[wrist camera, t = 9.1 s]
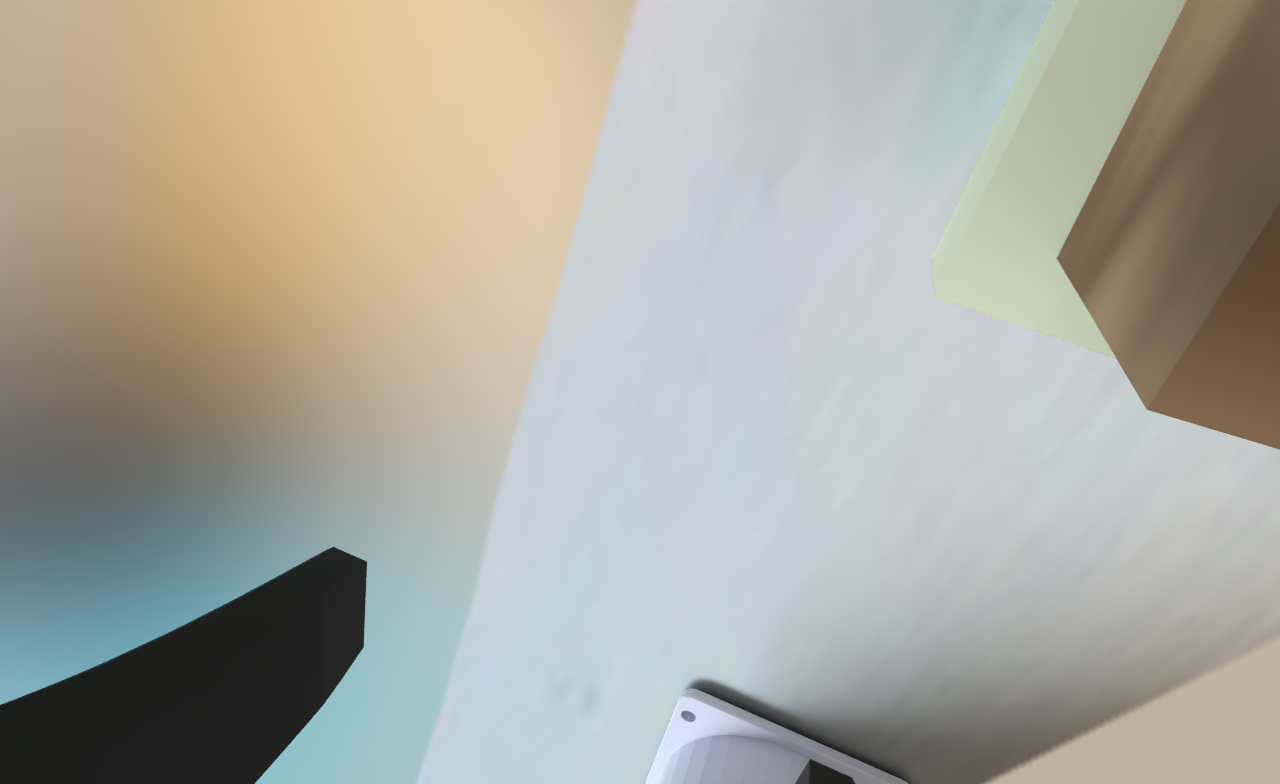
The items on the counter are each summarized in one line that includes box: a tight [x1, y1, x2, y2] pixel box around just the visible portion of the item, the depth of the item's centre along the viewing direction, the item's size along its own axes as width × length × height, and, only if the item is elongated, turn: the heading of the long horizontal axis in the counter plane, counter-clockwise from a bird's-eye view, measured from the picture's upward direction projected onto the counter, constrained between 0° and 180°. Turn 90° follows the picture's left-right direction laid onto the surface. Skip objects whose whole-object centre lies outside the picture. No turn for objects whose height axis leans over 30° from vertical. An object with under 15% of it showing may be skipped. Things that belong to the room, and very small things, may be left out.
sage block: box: [932, 0, 1187, 359], centre depth 13 cm, size 8×8×3 cm
